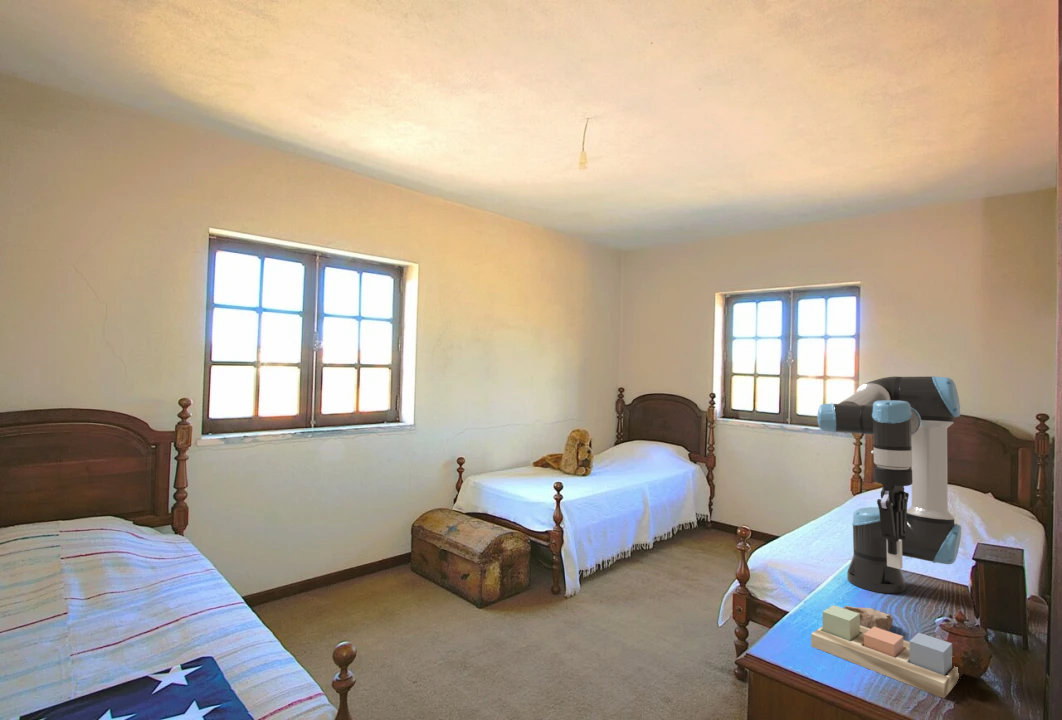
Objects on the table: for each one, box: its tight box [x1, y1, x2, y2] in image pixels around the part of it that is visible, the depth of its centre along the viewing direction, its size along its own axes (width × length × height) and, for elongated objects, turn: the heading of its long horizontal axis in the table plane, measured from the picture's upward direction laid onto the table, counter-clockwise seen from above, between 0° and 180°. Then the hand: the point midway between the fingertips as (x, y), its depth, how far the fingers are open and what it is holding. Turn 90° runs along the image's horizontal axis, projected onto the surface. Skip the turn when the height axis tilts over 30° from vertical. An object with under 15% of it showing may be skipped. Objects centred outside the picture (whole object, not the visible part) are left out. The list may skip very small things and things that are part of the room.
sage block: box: [822, 604, 860, 641], centre depth 129 cm, size 6×6×5 cm
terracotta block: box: [864, 627, 904, 658], centre depth 122 cm, size 6×6×5 cm
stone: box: [843, 605, 894, 632], centre depth 139 cm, size 9×11×5 cm
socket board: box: [810, 625, 959, 699], centre depth 122 cm, size 14×26×3 cm, turn 38°
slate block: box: [909, 632, 953, 676], centre depth 115 cm, size 6×6×5 cm
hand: (894, 566), depth 125 cm, fingers closed
